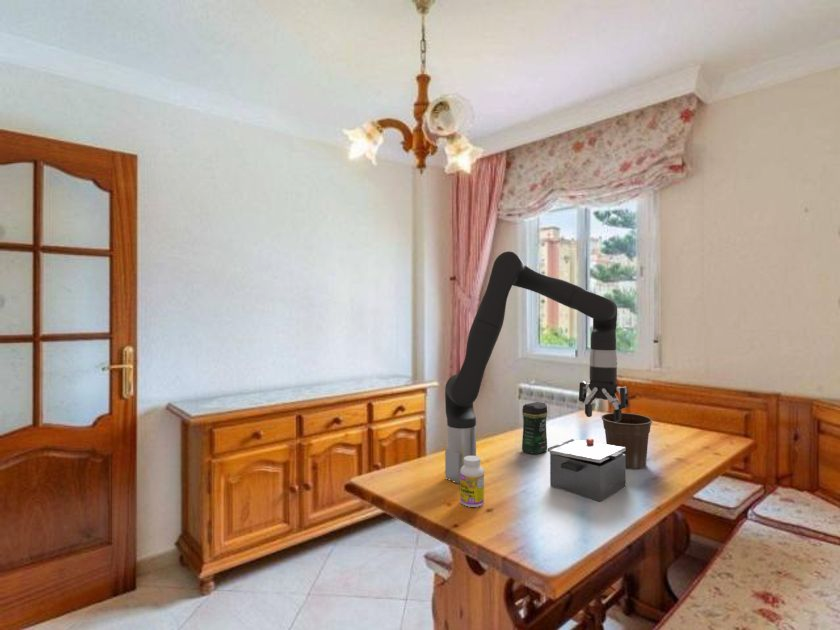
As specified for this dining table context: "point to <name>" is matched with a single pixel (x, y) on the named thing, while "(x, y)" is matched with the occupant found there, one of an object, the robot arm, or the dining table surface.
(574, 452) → the grey box lid
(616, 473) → the dark grey storage box
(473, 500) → the supplement bottle
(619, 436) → the plant pot
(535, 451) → the coffee jar
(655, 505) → the dining table surface
